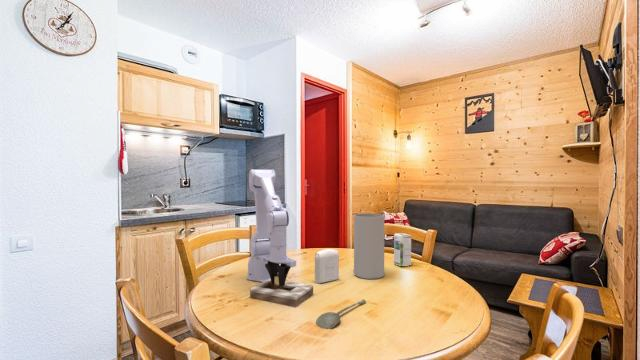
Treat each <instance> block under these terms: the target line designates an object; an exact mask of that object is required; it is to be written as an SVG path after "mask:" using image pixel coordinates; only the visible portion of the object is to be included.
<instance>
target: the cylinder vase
mask: <svg viewBox="0 0 640 360" xmlns="http://www.w3.org/2000/svg"><path fill="white" fill-rule="evenodd" d="M353 274H354V276H355V277H358V278H360V279H366V280H377V279H378V280H379V279H380V278H383V277H384V276H385V215H384V214H381V213H364V212H362V213H355V214H354V216H353Z"/></svg>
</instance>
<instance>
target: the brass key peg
mask: <svg viewBox="0 0 640 360" xmlns="http://www.w3.org/2000/svg"><path fill="white" fill-rule="evenodd" d="M276 289H282V290H286V288H284V287H283V286H279V276H278V274H276V275H274V289H273V290H276Z"/></svg>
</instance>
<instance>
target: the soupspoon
mask: <svg viewBox="0 0 640 360" xmlns="http://www.w3.org/2000/svg"><path fill="white" fill-rule="evenodd" d="M364 304H365V305H366V304H367V301H366V299H362V300H360V301H357V302H355V303H352V304H351V305H348V306H346V307H345V308H343V309H341V310H339V311H337V312H333V311H331V312H330V311H329V312H324V313H322V314H320V315H319V316H318V317H317V318H316V321H315V325H316V326H317V328H321V329H324V330H332V329H333V328H335V327H336V326H337V325H338V323H339V322H340V320H341V314H342V313H344V312H345V311H347V310H348V309H351V308H352V307H354V306H357V305H364Z"/></svg>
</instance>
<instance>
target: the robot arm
mask: <svg viewBox="0 0 640 360" xmlns="http://www.w3.org/2000/svg"><path fill="white" fill-rule="evenodd" d="M276 174H277V173H276V171H275V170H274V169H273V168H271V169H253V168H251V169H250V170H249V172H248V187H249V190H250V191H251V192H253V195H254V205H255V206H254V207H255V223H256V233H254V234H253V235H252V236H251V237H250V242H249V252H250V255H251V256H250V257H249V258H248V262H247V277H246V280H250V281H253V282H254V281H255V282H260V283H262V282H264V281H266V280H268V279H271V283H272V284H274V275H276V274H278V276H279V286H283V285H285V281H287V277H288V274H289V271H290V270H291V268H295V267H297V260H296V259H293V258H290V257H288V255H287V227H288V226H289V223H290V214H289V212H288V209H286V208H284V207H283V205H282V201H281V198H280V196H279V195H278V194H276V191H275V187H274V186H275V182H276V179H277V178H276Z"/></svg>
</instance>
